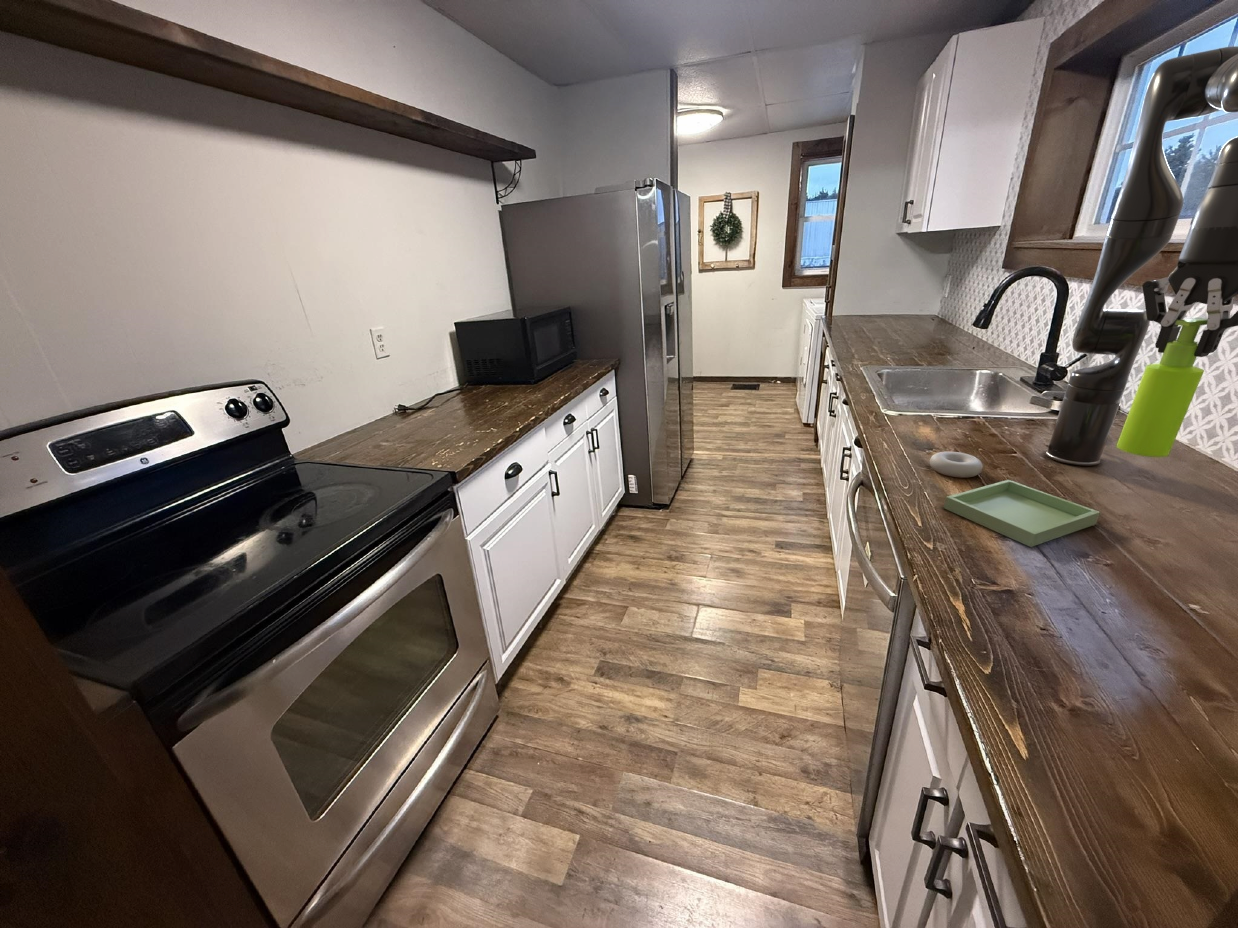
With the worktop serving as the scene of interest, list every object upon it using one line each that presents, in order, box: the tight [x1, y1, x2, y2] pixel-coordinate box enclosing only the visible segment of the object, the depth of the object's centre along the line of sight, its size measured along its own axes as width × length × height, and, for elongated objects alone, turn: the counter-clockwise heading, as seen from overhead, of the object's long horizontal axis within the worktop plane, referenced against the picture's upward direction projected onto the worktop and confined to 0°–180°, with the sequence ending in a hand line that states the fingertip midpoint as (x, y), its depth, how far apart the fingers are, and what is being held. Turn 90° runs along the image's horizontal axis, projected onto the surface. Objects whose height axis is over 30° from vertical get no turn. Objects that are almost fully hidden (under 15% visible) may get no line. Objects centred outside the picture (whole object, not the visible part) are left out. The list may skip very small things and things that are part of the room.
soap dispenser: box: [1116, 317, 1208, 458], centre depth 74 cm, size 6×7×20 cm
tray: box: [943, 479, 1101, 548], centre depth 92 cm, size 18×16×2 cm
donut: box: [929, 450, 984, 479], centre depth 111 cm, size 10×4×10 cm
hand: (1182, 353), depth 73 cm, fingers closed on soap dispenser, 3 cm apart
